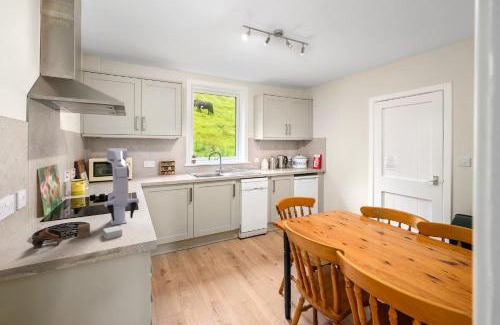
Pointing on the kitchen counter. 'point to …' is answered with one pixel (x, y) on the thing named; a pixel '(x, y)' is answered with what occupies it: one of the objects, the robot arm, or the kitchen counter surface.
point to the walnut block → (84, 230)
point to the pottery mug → (41, 237)
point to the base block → (112, 232)
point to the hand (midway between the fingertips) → (122, 219)
